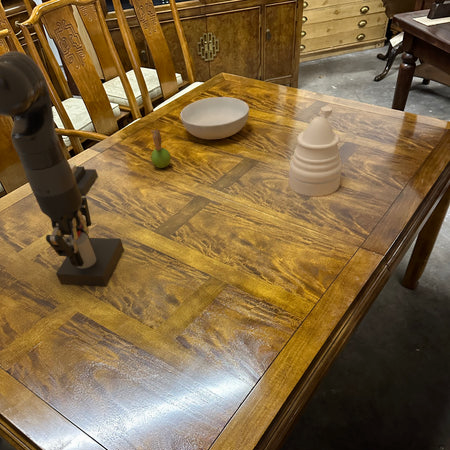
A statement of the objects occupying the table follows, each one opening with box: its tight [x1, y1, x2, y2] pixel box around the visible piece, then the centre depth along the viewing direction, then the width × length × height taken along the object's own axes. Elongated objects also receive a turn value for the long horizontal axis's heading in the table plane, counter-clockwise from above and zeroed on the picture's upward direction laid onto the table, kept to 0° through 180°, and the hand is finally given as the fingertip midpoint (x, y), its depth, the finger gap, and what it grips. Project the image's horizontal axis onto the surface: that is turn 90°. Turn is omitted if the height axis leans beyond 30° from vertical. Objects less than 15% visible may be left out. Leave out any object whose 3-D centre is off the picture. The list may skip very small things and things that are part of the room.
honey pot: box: [288, 106, 343, 197], centre depth 101 cm, size 13×13×18 cm
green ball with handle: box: [150, 129, 172, 169], centre depth 114 cm, size 5×6×12 cm
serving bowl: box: [179, 96, 250, 140], centre depth 129 cm, size 21×21×7 cm
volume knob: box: [67, 231, 96, 269], centre depth 85 cm, size 4×4×6 cm
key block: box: [74, 166, 99, 197], centre depth 113 cm, size 11×10×4 cm
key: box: [70, 164, 77, 175], centre depth 111 cm, size 4×4×2 cm
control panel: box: [55, 237, 125, 287], centre depth 89 cm, size 10×12×3 cm
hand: (83, 256), depth 86 cm, fingers closed on volume knob, 4 cm apart
